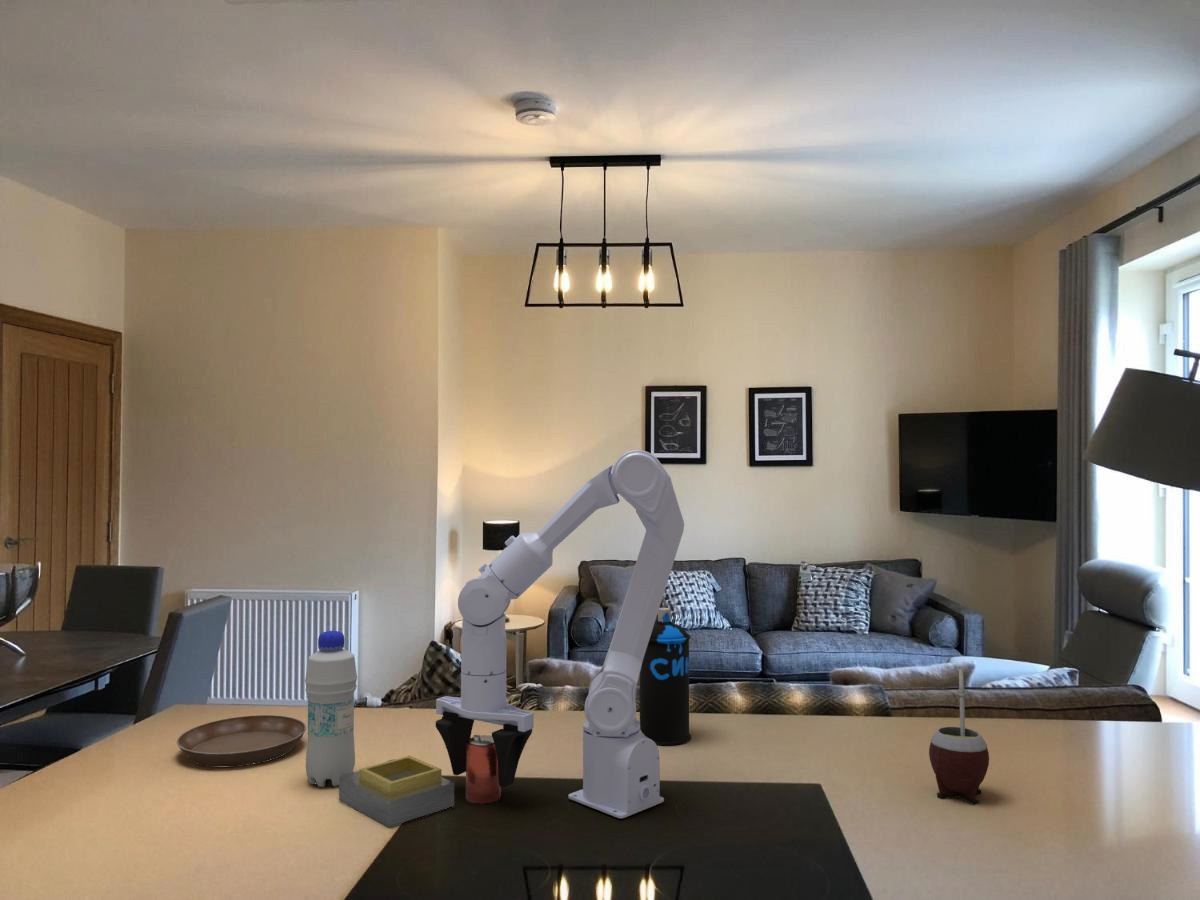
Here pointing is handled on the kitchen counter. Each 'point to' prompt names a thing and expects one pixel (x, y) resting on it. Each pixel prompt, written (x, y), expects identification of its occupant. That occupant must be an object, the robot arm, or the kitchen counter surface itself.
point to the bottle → (330, 710)
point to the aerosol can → (665, 683)
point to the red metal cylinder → (482, 770)
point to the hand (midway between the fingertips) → (483, 778)
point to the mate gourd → (959, 757)
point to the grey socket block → (397, 790)
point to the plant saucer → (241, 740)
